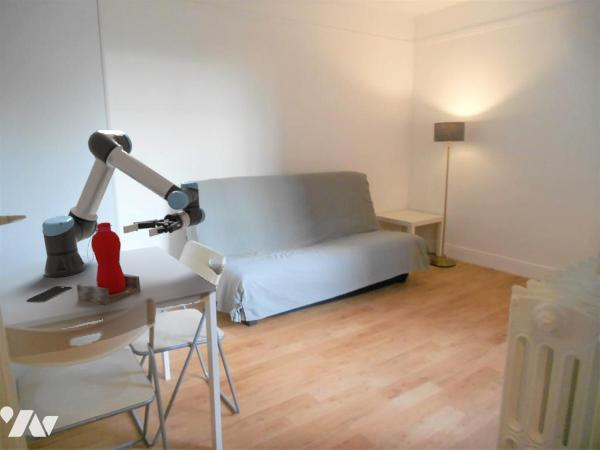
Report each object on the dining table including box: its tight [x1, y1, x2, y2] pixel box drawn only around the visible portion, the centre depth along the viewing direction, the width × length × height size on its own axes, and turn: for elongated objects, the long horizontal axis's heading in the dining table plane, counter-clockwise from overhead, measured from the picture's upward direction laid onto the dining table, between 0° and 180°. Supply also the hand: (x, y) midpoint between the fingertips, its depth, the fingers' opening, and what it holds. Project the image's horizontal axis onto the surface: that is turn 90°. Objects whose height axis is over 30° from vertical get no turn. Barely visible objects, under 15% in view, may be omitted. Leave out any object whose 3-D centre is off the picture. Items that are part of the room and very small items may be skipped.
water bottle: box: [86, 221, 126, 294], centre depth 145 cm, size 9×11×25 cm
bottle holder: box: [76, 273, 141, 306], centre depth 148 cm, size 14×15×6 cm
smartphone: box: [25, 285, 73, 303], centre depth 151 cm, size 8×1×15 cm
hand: (136, 231), depth 156 cm, fingers open, 13 cm apart
